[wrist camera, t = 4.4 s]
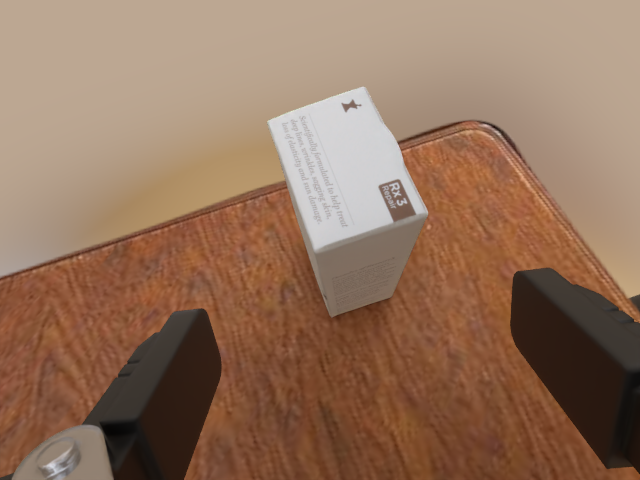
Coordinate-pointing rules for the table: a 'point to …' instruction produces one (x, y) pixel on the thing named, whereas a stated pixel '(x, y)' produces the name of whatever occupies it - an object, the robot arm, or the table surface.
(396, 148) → the cosmetic box
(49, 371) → the table surface
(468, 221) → the table surface
